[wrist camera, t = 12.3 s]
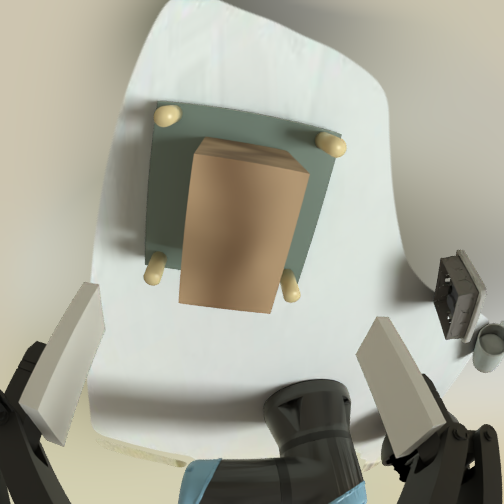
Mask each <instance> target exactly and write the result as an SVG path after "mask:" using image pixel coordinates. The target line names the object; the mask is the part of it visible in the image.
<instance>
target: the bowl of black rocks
mask: <svg viewBox="0 0 504 504" xmlns="http://www.w3.org/2000/svg"><path fill="white" fill-rule="evenodd" d="M448 413H449V412H448ZM449 415H450V417H451V419H452V421H453V422H454V423H456V422H457V423H459V422H458V420H457V419H456V418H455V417H454V416H453V415H452V414H451V413H449ZM417 453H418V450H417V448H416V449H415V450H414V451H413V452H412V453H410V454H409V455H406V456H402V457H399V458H396V457H395V454H394V451H393V449H392V446H391V443H390V440H389V438H388V435H387V434H386V436H385V438H384V441H383V444H382V449H381V460H382V464H383V465H384V466H391V465H393V466H394V470H396V471H397V472H398V473H399V474H400V478H399V479H400V480H401V481H402V482H406V480H407V477H408V475H409V472H410V469H411V467H409V466H410V465H411V464H412V463H413V461H412V462H411V463H410V464H408V465H405V464H406V462H407V461H408V460H409V459H411V458H412V457H413V456H415V455H416V454H417Z"/></svg>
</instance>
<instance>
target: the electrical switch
mask: <svg viewBox="0 0 504 504" xmlns="http://www.w3.org/2000/svg"><path fill="white" fill-rule="evenodd" d="M441 271H442V272H441ZM448 274H449V275H448ZM446 278H451V279H450V282H445V279H446ZM442 285H443V286H442ZM448 285H449V286H448ZM439 287H440V288H439ZM485 297H486V287H485V285H484V283H483V281H482V280H481V278H480V276H479V274H478V273H477V271H476V270H475V268H474V266H473V264H472V263H471V261H470V260H469V258H468V256H467V254H466V253H465V251H464V250H457V252H456V256H451V257H447V258H441V259H440V266H439V272H438V278H437V284H436V289H435V296H434V305H435V308H436V311H437V314H438V317H439V320H440V323H441V326H442V329H443V333H444V336H445V339H446V340H449V339H459V338H461V339H462V342H463V343H467V342H470V340H471V337H472V335H473V332H474V330H475V327H476V324H477V321H478V319H479V316H480V313H481V310H482V307H483V304H484V301H485ZM448 316H449V319H448ZM450 322H451V323H450Z"/></svg>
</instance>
